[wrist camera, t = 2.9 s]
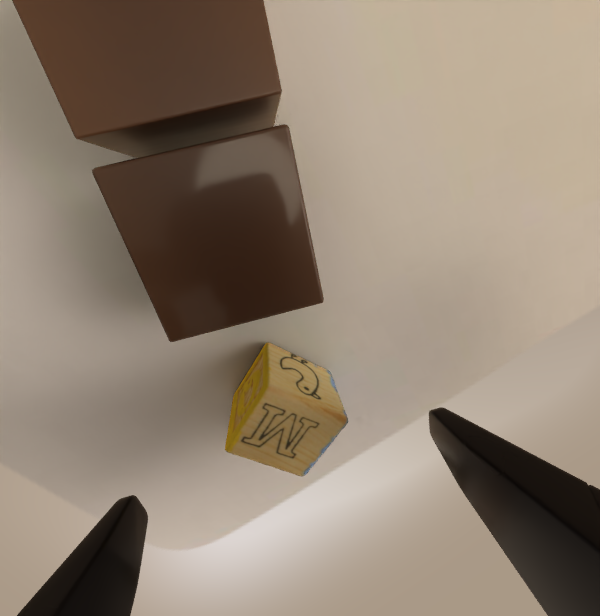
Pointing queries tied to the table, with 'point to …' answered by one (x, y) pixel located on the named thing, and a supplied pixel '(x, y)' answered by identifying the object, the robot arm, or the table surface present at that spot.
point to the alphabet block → (284, 412)
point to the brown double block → (186, 150)
